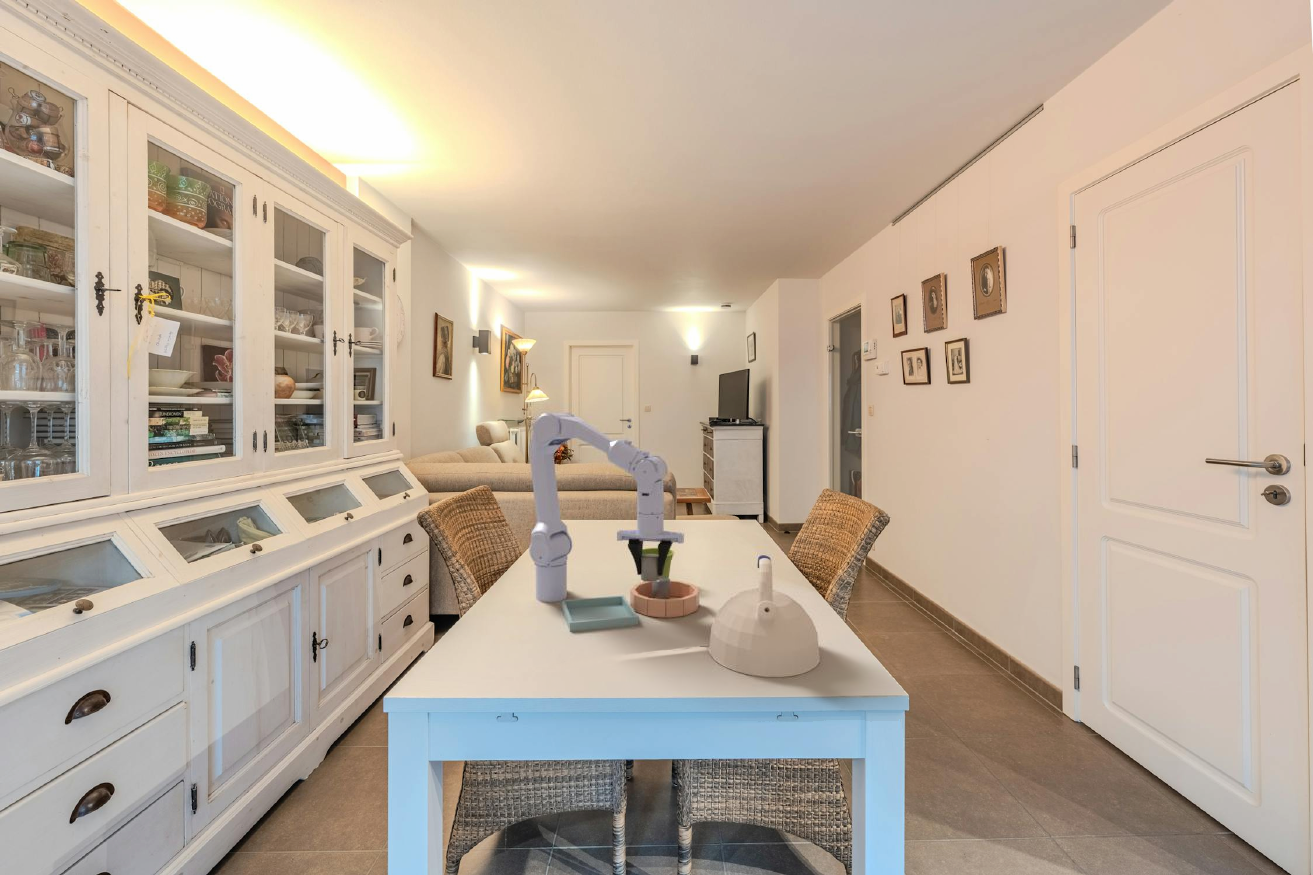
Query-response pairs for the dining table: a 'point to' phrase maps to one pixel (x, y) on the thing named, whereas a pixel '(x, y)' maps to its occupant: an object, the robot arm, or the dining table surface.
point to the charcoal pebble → (661, 588)
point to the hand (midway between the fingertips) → (650, 574)
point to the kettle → (764, 632)
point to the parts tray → (598, 613)
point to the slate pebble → (649, 567)
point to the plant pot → (667, 562)
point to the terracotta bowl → (665, 600)
